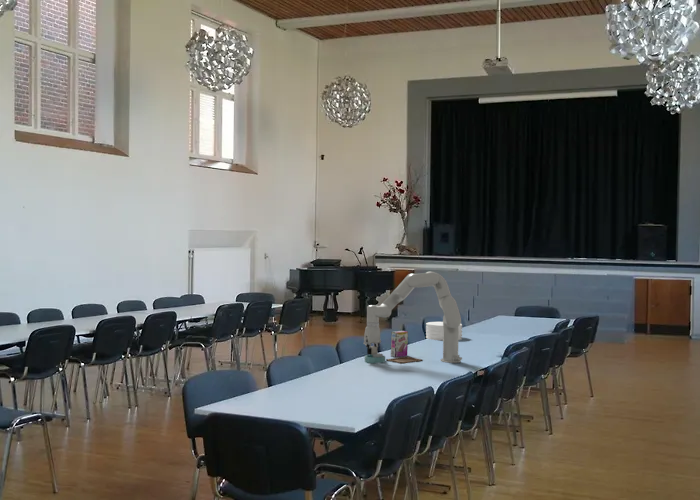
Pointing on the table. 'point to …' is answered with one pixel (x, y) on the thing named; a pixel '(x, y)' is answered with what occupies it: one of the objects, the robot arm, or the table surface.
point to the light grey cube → (377, 355)
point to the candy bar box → (399, 343)
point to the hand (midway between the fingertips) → (372, 353)
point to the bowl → (374, 359)
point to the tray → (404, 360)
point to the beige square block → (373, 350)
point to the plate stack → (438, 331)
